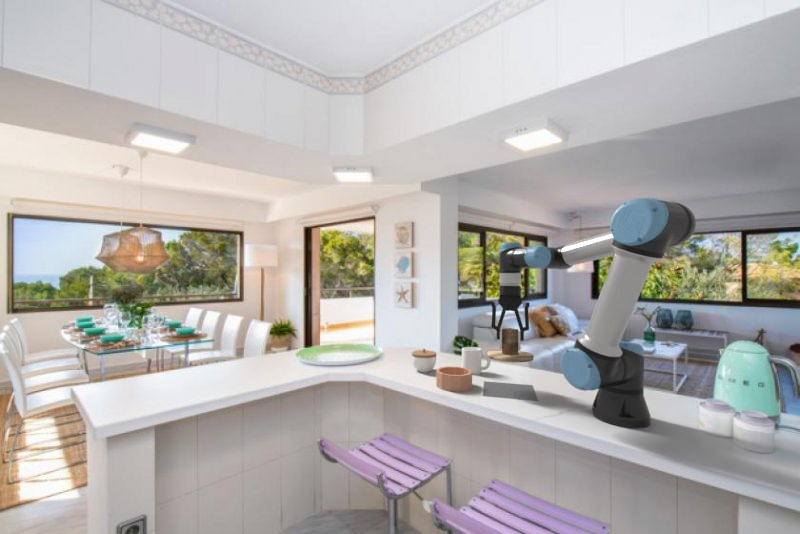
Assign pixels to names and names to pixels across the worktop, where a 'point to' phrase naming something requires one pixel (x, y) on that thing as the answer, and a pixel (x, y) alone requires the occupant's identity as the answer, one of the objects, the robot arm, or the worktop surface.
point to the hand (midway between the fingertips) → (510, 349)
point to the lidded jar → (424, 360)
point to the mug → (473, 359)
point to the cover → (510, 348)
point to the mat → (509, 391)
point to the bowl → (453, 378)
